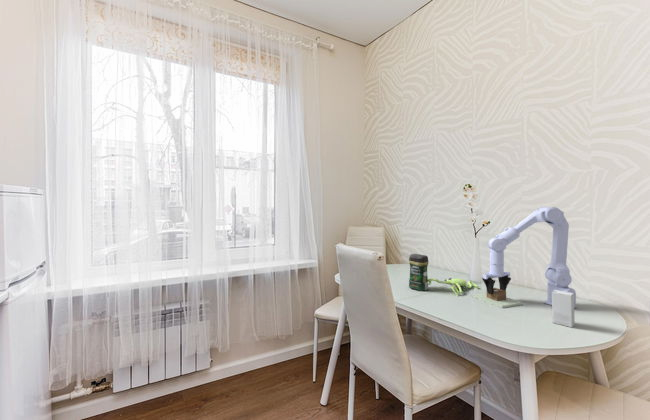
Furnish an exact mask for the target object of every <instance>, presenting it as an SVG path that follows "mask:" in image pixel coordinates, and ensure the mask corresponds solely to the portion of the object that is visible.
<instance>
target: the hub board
mask: <svg viewBox="0 0 650 420" xmlns="http://www.w3.org/2000/svg"><path fill="white" fill-rule="evenodd" d="M494 291H498V290H494ZM472 297H473V298H474V299H477V300H480V301H482V302H484V303H488V304H491V305H492V306H496V307H498V308H501V309H505V308H511V307H517V306H518V307H519V306H523V302H522V301H519V300H516V299H513V298H510V297H507V296H506V300H501V301H495V300H492V299H490V298H487V292H483V293H476V294H472Z"/></svg>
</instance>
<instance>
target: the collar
mask: <svg viewBox="0 0 650 420" xmlns="http://www.w3.org/2000/svg"><path fill="white" fill-rule="evenodd" d="M494 290H498V291H494ZM486 293H487V298H490V299H492V300H495V301H501V300H506V297H507V290H506V291H504V290H501V289H500V288H497V287H493V294H489V293H488V292H487V291H486Z"/></svg>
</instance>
